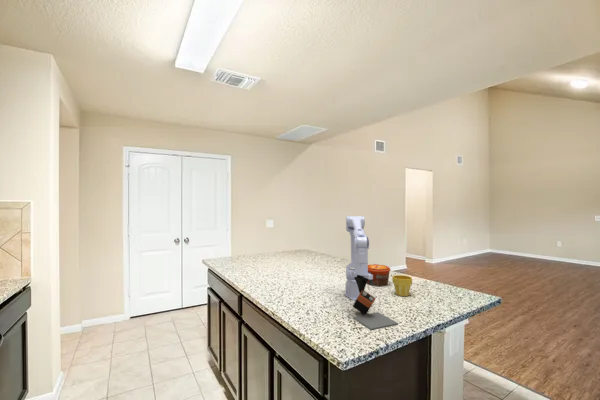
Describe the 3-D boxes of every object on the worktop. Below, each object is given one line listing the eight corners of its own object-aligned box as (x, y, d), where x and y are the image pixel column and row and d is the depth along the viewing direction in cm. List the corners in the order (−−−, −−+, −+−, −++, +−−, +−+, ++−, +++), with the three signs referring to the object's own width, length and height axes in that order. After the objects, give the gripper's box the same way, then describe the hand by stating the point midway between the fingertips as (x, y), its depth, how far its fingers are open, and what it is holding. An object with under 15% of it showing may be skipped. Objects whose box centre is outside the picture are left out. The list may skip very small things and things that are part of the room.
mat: (352, 318, 127) (352, 316, 127) (378, 313, 132) (378, 312, 132) (370, 330, 115) (370, 328, 115) (398, 324, 120) (398, 323, 120)
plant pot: (394, 290, 167) (394, 273, 167) (413, 293, 161) (413, 276, 162) (390, 295, 158) (390, 277, 158) (410, 298, 153) (410, 280, 153)
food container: (393, 287, 173) (393, 269, 173) (367, 287, 173) (367, 269, 174) (386, 280, 189) (386, 264, 189) (362, 280, 189) (362, 263, 189)
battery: (356, 300, 135) (363, 287, 130) (368, 309, 133) (376, 296, 127) (352, 306, 132) (359, 293, 127) (365, 316, 130) (373, 303, 124)
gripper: (345, 261, 137) (345, 290, 136) (363, 265, 124) (363, 297, 123) (358, 260, 140) (358, 289, 139) (376, 264, 127) (377, 295, 126)
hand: (361, 292), depth 131 cm, fingers closed, pressing on battery
